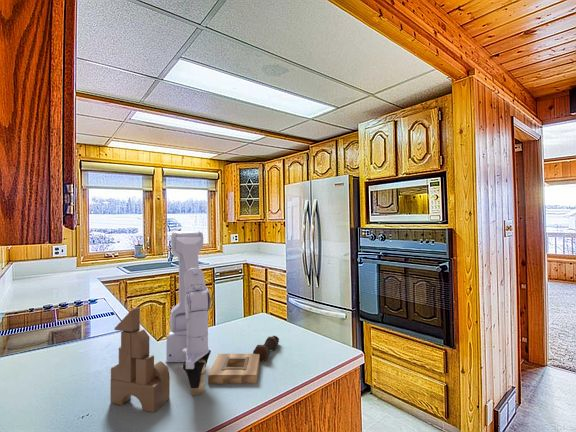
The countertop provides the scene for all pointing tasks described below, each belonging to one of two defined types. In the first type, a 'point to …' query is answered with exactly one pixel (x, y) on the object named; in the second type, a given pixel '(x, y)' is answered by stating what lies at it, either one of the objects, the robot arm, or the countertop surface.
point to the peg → (201, 387)
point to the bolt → (266, 348)
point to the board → (234, 368)
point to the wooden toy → (138, 368)
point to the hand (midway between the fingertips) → (197, 382)
